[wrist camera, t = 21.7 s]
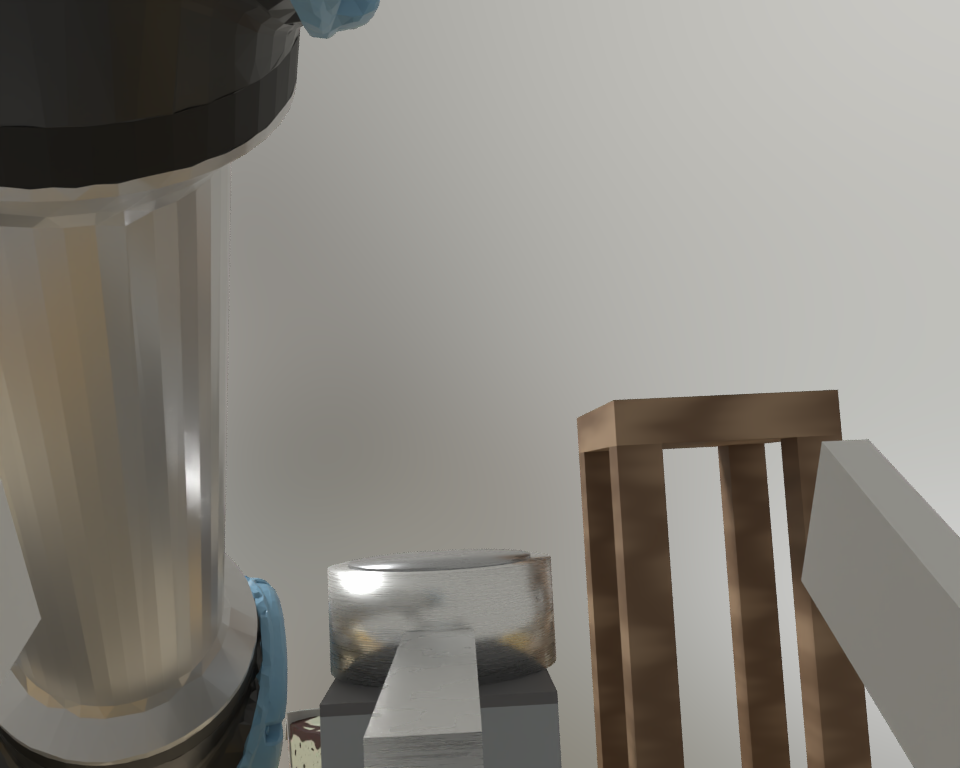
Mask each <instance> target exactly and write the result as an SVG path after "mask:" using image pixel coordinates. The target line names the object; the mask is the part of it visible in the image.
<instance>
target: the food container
mask: <svg viewBox="0 0 960 768" xmlns="http://www.w3.org/2000/svg"><path fill="white" fill-rule="evenodd" d="M285 740H288V750H289V764H290V765H289V766H290V768H321V734H320V708H315V709H307V710H300V711H293V712H288V713H287V721H285Z"/></svg>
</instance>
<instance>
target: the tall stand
mask: <svg viewBox="0 0 960 768" xmlns="http://www.w3.org/2000/svg"><path fill="white" fill-rule="evenodd" d="M577 425H578V426H577V427H578V443H579V460H580V477H581V494H582V509H583V527H584V544H585V561H586V578H587V594H588V611H589V627H590V644H591V660H592V661H591V662H592V679H593V694H594V712H595V727H596V728H595V729H596V745H597V761H598V762H597V763H598V768H684V756H683V741H682V727H681V714H680V713H681V712H680V698H679V684H678V669H677V656H676V641H675V627H674V611H673V597H672V582H671V569H670V553H669V540H668V524H667V511H666V495H665V482H664V467H663V452H662V449H672V448H673V449H675V448H696V447H716V446H718V454H719V468H720V481H721V494H722V508H723V521H724V534H725V548H726V561H727V573H728V588H729V601H730V614H731V627H732V640H733V652H734V653H733V654H734V667H735V680H736V694H737V706H738V720H739V733H740V747H741V760H742V768H790V756H789V744H788V733H787V720H786V708H785V694H784V682H783V670H782V659H781V658H782V657H781V646H780V633H779V621H778V608H777V595H776V583H775V570H774V558H773V546H772V533H771V523H770V522H771V521H770V508H769V496H768V484H767V471H766V459H765V447H764V443H773V442H781V447H782V448H781V449H782V461H783V473H784V485H785V498H786V510H787V521H788V534H789V546H790V558H791V569H792V582H793V594H794V607H795V619H796V631H797V643H798V655H799V667H800V679H801V690H802V703H803V715H804V728H805V738H806V752H807V764H808V768H872V767H871V756H870V745H869V734H868V723H867V712H866V700H865V689H864V684H863V682H862V681H861V679H860V677H859V676H858V674H857V672H856V671H855V669H854V667H853V666H852V664H851V662H850V661H849V659H848V657H847V656H846V654H845V652H844V651H843V649H842V647H841V646H840V644H839V642H838V641H837V639H836V638H835V636H834V634H833V633H832V631H831V629H830V628H829V626H828V624H827V623H826V621H825V619H824V618H823V616H822V614H821V613H820V611H819V609H818V608H817V606H816V604H815V603H814V601H813V599H812V598H811V596H810V594H809V593H808V591H807V589H806V588H805V586H804V584H803V583H802V581H801V578H802V571H803V564H804V558H805V551H806V544H807V538H808V531H809V524H810V518H811V511H812V504H813V498H814V491H815V484H816V478H817V471H818V464H819V458H820V451H821V444H822V442H823V441H842V432H841V421H840V410H839V399H838V390H823V391H804V392H803V391H802V392H782V393H781V392H780V393H758V394H739V395H738V394H737V395H718V396H717V395H715V396H695V397H694V396H693V397H672V398H650V399H628V400H613V401H611V402H609V403H607V404H605V405H603V406H601V407H599V408H597V409H595V410H593V411H591V412H589V413H586V414H584V415H582V416H580V417H579V418H577Z"/></svg>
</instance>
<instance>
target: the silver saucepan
mask: <svg viewBox="0 0 960 768" xmlns="http://www.w3.org/2000/svg"><path fill="white" fill-rule="evenodd" d="M550 558H551V557H550V555H548V554H544V553H537V552H526V551H521V550H509V549H508V550H507V549H461V550H437V551H421V552H408V553H397V554H388V555H379V556H372V557H366V558H361V559H356V560H353V561H348V562H343V563H339V564H335V565H332V566H330V567H328V597H329V630H330V663H331V674H332V675H333V676H334V677H335V678H337V679H339V680H341V681H344V682H347V683H351V684H355V685H361V686H367V687H377V688H382V690H381V693H380V696H379V698H378V701H377V703H376V706H375V709H374V711H373V714H372V717H371V719H370V722H369V724H368V727H367V730H366V732H365V735H364V738H363V745H364V768H484V764H483V743H482V726H481V712H480V699H479V686H478V685H482V684H489V683H495V682H501V681H507V680H511V679H516V678H520V677H524V676H528V675H531V674H534V673H537V672H540V671H542V670H544V669H546V668H548V667H550V666H551V665H552V664H553V663H555V661H556V647H555V630H554V611H553V593H552V575H551V559H550Z"/></svg>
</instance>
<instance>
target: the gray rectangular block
mask: <svg viewBox="0 0 960 768" xmlns="http://www.w3.org/2000/svg"><path fill="white" fill-rule="evenodd" d="M478 686H479V699H480V712H481V726H482V743H483V764H484V768H561V751H560V733H559V716H558V698H557V690H556V688H555V686H554V684H553V682H552V680H551V678H550V675H549V673H548V671H547V669H544V670H542V671H540V672H537V673H534V674H531V675H528V676H524V677H520V678H516V679H511V680H507V681H501V682H495V683H489V684H482V685H478ZM381 690H382V688H377V687H367V686H361V685H355V684H351V683H347V682H344V681H341V680H339V679H337V678H335V680H334V682H333V683H332V685H331V687H330V688H329V690H328V692H327V693H326V695H325V697H324V699H323V700H322V702H321V703H320V734H321V768H364V745H363V738H364V735H365V732H366V730H367V727H368V724H369V722H370V719H371V717H372V714H373V711H374V709H375V706H376V703H377V701H378V698H379V696H380V693H381Z"/></svg>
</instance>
